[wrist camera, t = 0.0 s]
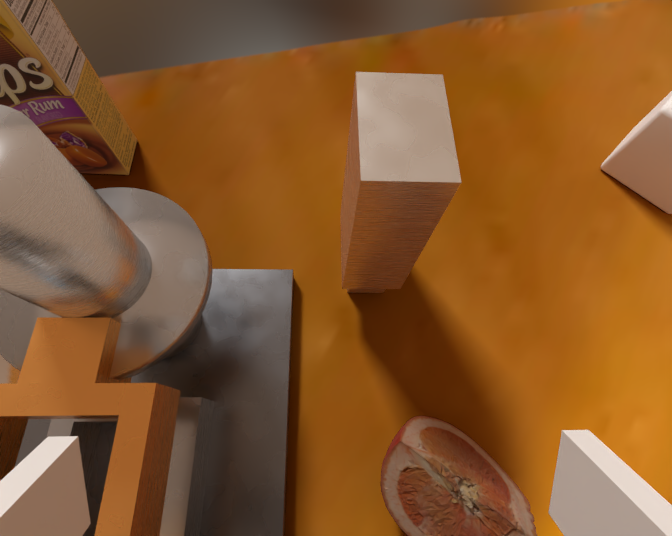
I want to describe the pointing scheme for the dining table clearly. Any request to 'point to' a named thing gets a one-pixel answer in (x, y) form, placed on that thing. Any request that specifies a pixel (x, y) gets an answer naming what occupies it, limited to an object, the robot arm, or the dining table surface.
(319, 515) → the dining table surface
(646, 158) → the medicine bottle
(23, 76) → the candy box
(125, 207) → the grey press stand
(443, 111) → the rectangular block
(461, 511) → the fruit slice
